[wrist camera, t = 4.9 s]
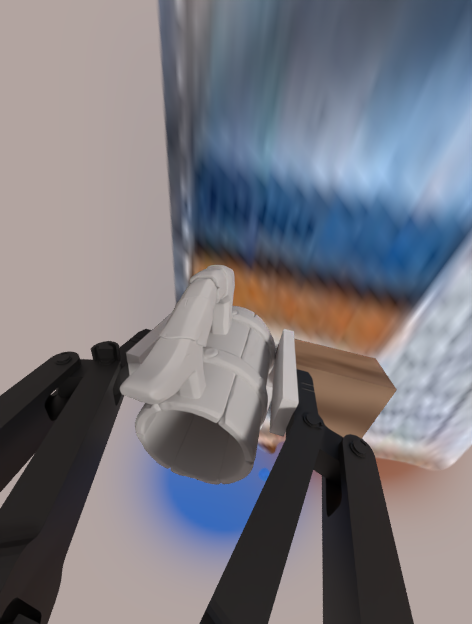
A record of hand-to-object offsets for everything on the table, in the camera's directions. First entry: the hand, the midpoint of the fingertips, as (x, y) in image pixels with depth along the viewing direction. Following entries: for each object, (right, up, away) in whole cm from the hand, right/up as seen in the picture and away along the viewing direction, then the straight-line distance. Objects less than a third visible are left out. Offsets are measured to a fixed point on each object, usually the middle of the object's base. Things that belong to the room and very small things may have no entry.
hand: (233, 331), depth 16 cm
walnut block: (+12, -7, +11) cm, 18 cm away
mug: (0, +1, +2) cm, 2 cm away
